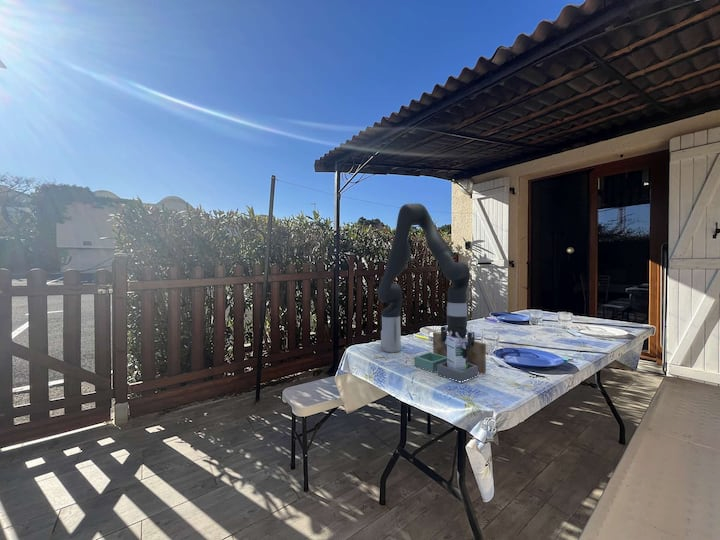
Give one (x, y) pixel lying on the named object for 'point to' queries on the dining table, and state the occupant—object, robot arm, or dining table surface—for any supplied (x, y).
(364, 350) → the dining table surface
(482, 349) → the back panel
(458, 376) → the box
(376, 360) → the dining table surface
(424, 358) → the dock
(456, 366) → the syrup box
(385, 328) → the robot arm
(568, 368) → the dining table surface
